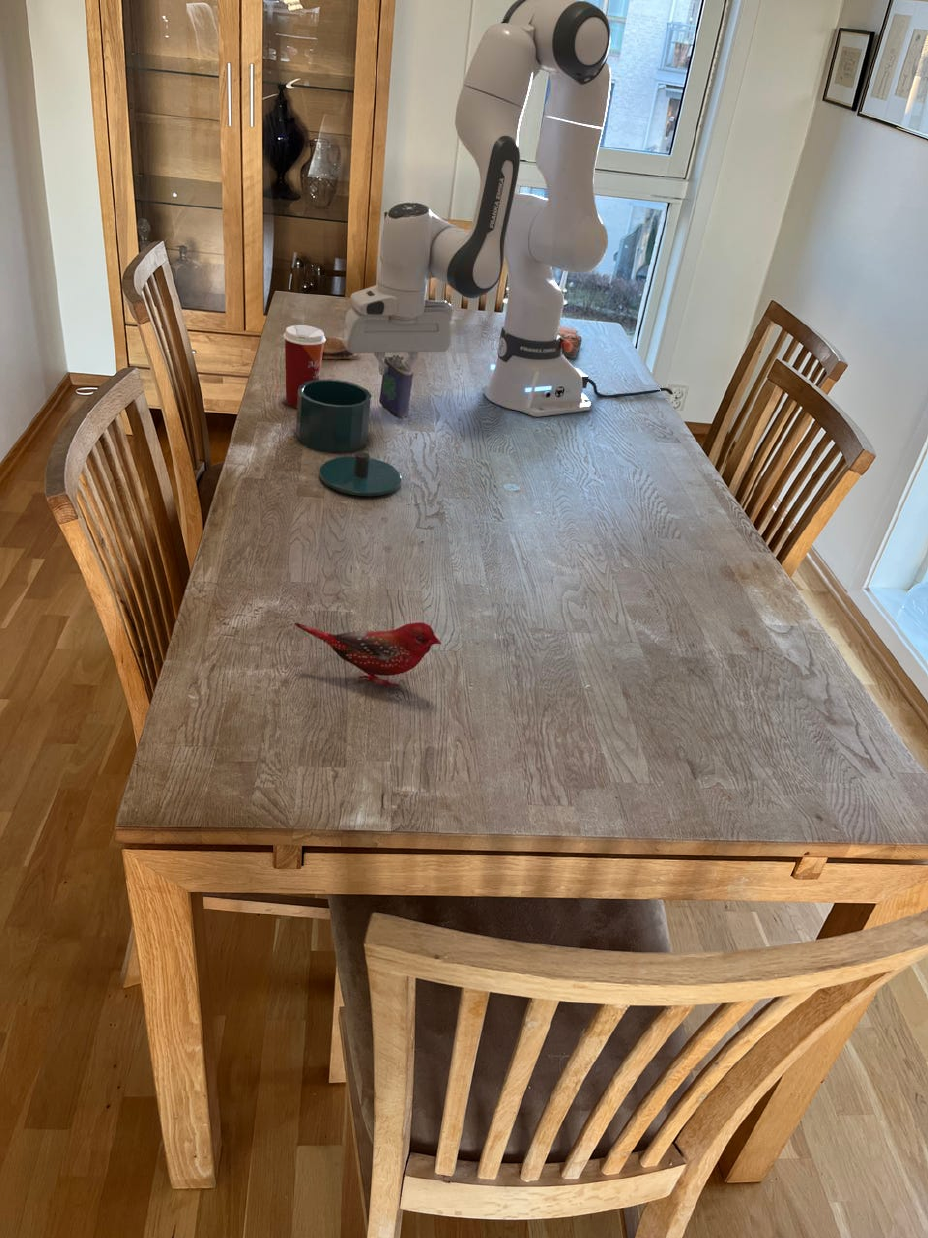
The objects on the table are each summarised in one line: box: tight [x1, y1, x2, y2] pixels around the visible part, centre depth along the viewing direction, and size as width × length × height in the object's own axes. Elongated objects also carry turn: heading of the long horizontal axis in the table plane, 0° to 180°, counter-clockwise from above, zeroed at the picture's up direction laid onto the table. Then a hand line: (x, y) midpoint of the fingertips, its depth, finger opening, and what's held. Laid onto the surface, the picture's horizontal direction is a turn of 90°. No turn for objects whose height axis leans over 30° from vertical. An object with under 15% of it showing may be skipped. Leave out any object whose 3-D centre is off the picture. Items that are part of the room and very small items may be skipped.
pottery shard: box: [558, 325, 583, 359], centre depth 237 cm, size 16×16×4 cm
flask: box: [378, 354, 414, 420], centre depth 185 cm, size 9×3×11 cm, turn 31°
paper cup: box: [283, 324, 326, 409], centre depth 183 cm, size 8×8×14 cm
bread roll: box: [322, 336, 358, 360], centre depth 211 cm, size 11×8×4 cm
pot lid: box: [319, 451, 403, 497], centre depth 162 cm, size 14×14×5 cm
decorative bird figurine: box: [293, 621, 442, 687], centre depth 116 cm, size 3×18×10 cm, turn 80°
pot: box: [295, 378, 372, 454], centre depth 173 cm, size 13×13×8 cm
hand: (394, 373), depth 185 cm, fingers closed on flask, 3 cm apart
